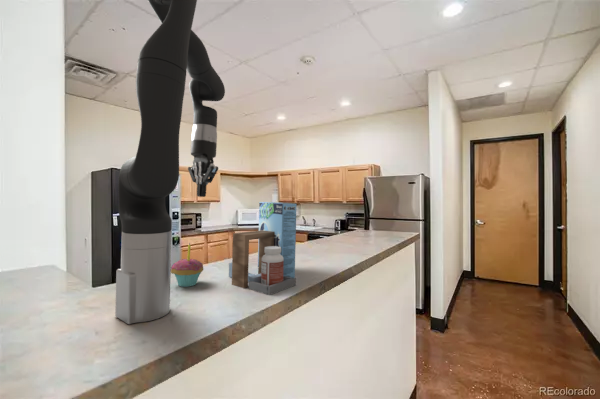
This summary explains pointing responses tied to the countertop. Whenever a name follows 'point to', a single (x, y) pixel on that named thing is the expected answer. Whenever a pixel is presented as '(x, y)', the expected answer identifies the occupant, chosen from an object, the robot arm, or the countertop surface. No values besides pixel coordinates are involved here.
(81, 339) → the countertop surface
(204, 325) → the countertop surface
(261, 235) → the tunnel
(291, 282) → the dock
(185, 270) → the cupcake
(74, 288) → the countertop surface
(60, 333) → the countertop surface
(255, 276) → the sled
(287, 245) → the light blue upright box
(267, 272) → the pill bottle
